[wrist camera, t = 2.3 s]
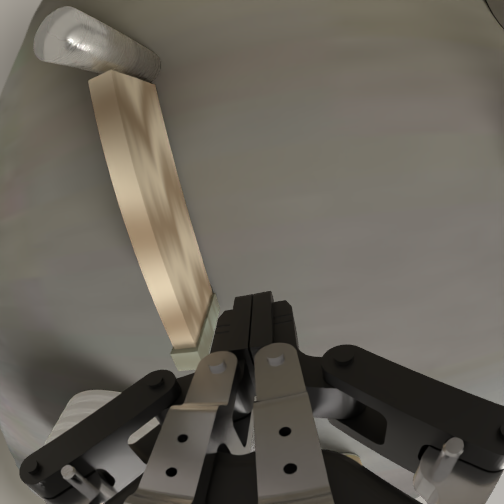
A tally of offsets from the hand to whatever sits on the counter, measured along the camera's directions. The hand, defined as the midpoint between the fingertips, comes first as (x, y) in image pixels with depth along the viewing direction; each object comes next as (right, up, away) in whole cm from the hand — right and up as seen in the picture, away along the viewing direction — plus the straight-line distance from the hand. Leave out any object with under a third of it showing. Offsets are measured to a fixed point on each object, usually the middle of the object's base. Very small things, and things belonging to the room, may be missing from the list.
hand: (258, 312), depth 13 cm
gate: (-6, +6, +11) cm, 14 cm away
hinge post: (-9, +17, +8) cm, 21 cm away
